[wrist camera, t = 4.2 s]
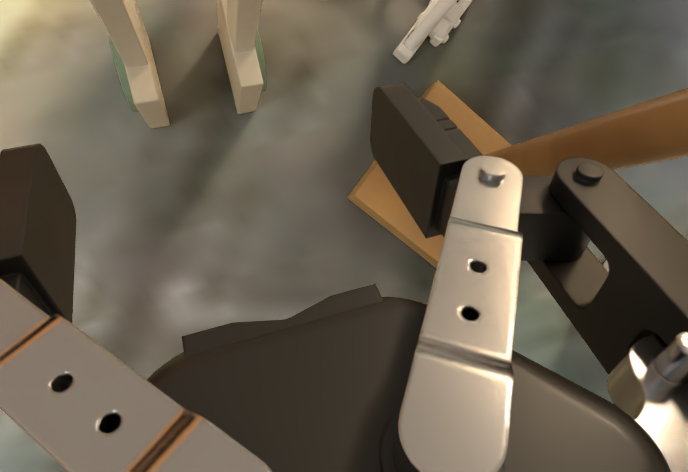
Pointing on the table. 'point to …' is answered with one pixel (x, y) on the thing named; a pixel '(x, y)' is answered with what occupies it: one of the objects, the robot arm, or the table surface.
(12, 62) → the table surface
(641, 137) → the stand
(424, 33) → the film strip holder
